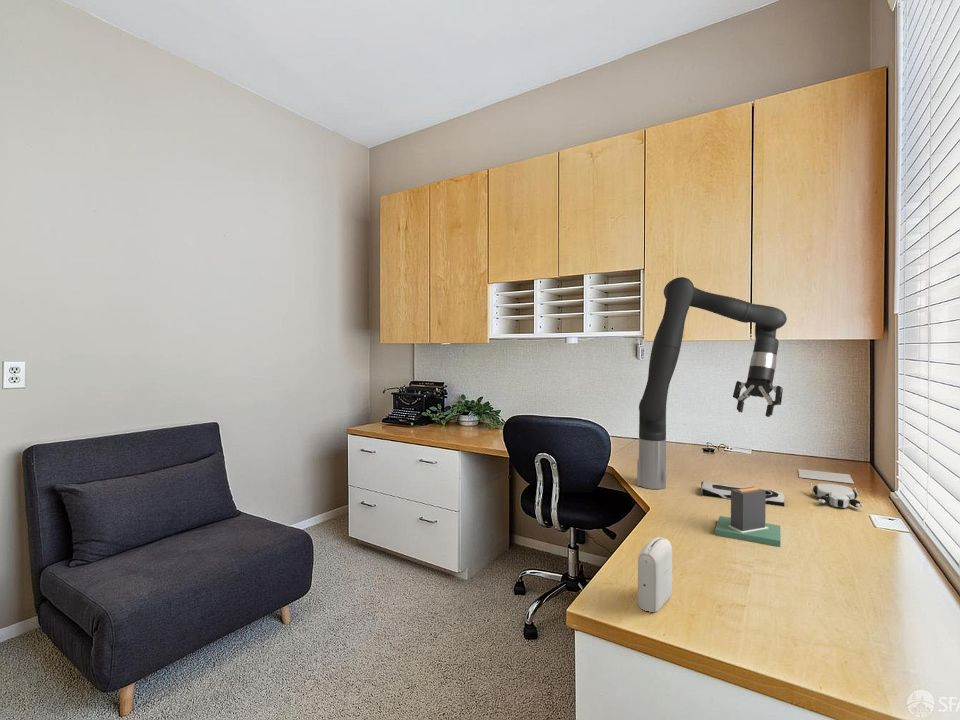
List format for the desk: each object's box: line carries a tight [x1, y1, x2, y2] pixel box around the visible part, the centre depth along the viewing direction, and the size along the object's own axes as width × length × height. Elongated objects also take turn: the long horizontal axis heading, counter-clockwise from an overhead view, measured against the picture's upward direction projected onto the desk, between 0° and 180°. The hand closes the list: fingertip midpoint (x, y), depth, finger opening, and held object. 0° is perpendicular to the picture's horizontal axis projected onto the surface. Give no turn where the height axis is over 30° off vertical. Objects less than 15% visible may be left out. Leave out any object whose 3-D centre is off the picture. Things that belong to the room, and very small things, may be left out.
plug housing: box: [730, 486, 767, 531], centre depth 132 cm, size 8×4×10 cm, turn 108°
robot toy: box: [810, 483, 864, 509], centre depth 156 cm, size 12×4×15 cm
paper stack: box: [797, 468, 855, 484], centre depth 184 cm, size 23×25×1 cm
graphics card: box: [700, 481, 786, 507], centre depth 162 cm, size 10×3×25 cm
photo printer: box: [637, 536, 673, 613], centre depth 98 cm, size 10×4×12 cm, turn 140°
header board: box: [714, 515, 781, 548], centre depth 132 cm, size 15×12×5 cm
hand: (753, 414), depth 162 cm, fingers open, 8 cm apart
